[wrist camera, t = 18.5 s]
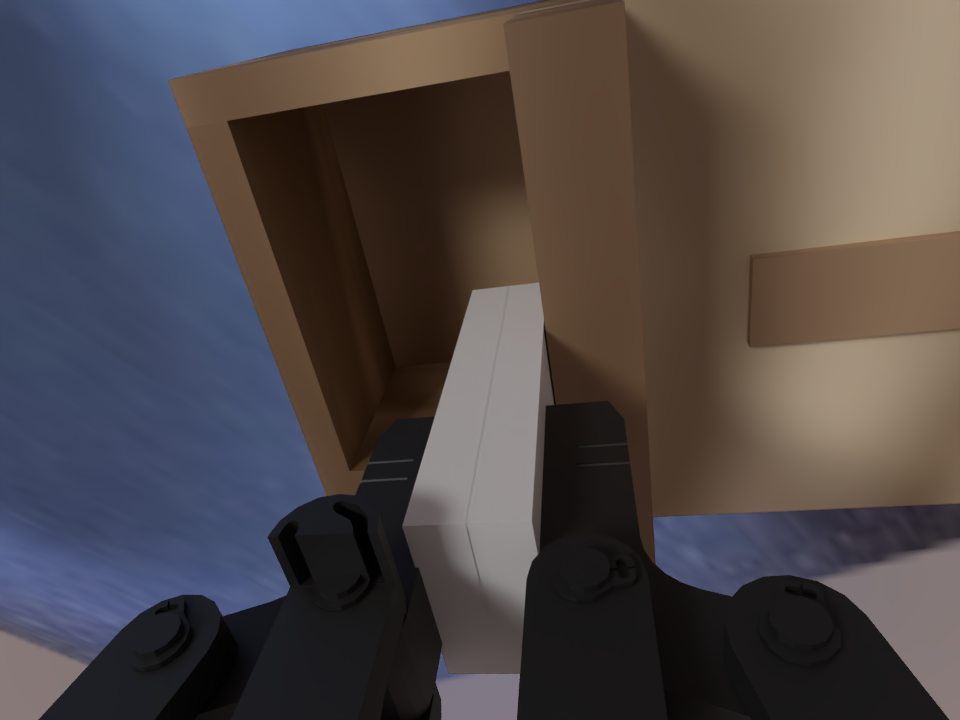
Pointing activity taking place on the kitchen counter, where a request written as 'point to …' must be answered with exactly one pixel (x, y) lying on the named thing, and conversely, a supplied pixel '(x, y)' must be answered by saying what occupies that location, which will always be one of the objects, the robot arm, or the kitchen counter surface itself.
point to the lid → (752, 242)
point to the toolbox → (367, 213)
